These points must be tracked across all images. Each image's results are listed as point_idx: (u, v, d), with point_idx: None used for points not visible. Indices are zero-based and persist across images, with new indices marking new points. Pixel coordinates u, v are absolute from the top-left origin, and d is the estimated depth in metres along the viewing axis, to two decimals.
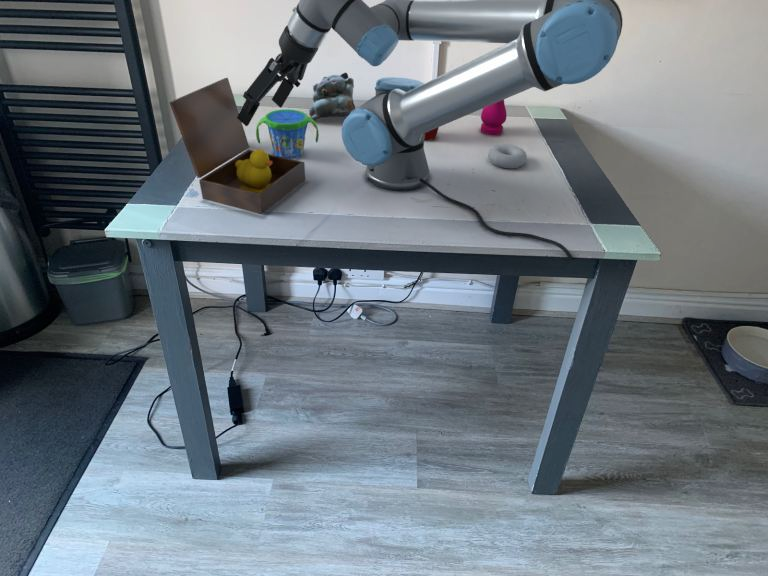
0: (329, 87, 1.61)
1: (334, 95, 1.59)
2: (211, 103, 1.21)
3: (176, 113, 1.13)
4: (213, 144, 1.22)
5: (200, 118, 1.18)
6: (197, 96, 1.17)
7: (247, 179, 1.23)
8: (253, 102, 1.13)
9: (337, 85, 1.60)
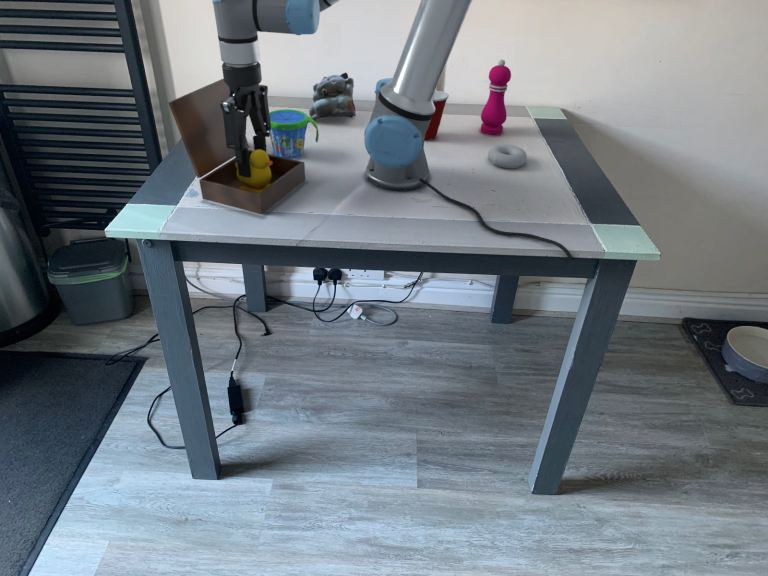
0: (329, 87, 1.61)
1: (334, 95, 1.59)
2: (210, 103, 1.21)
3: (175, 113, 1.13)
4: (212, 145, 1.22)
5: (199, 118, 1.18)
6: (196, 96, 1.17)
7: (247, 179, 1.23)
8: (236, 147, 1.15)
9: (337, 85, 1.60)
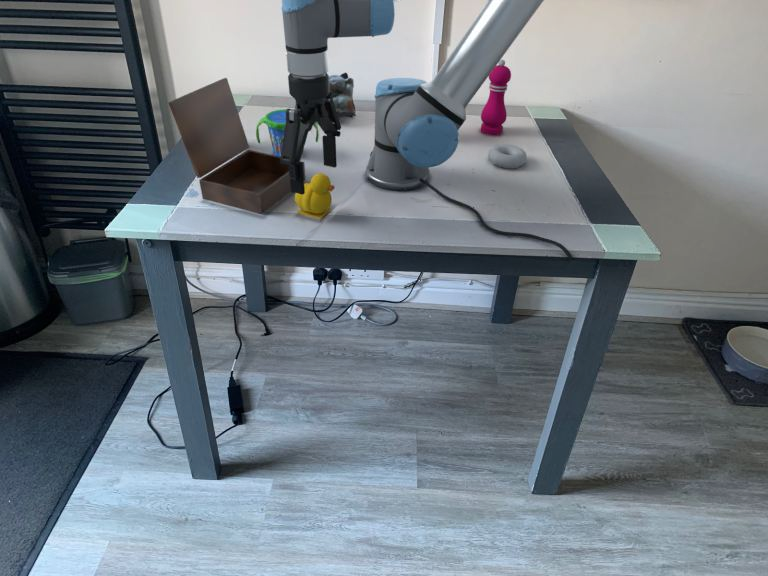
0: (329, 87, 1.61)
1: (334, 95, 1.59)
2: (210, 103, 1.21)
3: (175, 113, 1.13)
4: (212, 145, 1.22)
5: (199, 118, 1.18)
6: (196, 96, 1.17)
7: (307, 204, 1.16)
8: (292, 161, 1.03)
9: (337, 85, 1.60)
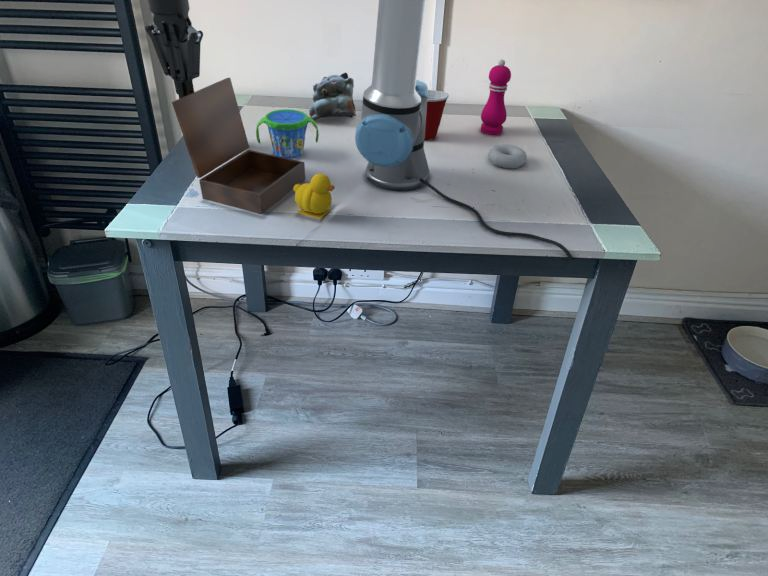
0: (329, 87, 1.61)
1: (334, 95, 1.59)
2: (213, 103, 1.21)
3: (178, 113, 1.12)
4: (213, 145, 1.22)
5: (202, 118, 1.18)
6: (199, 96, 1.17)
7: (307, 204, 1.16)
8: (164, 72, 1.18)
9: (337, 85, 1.60)
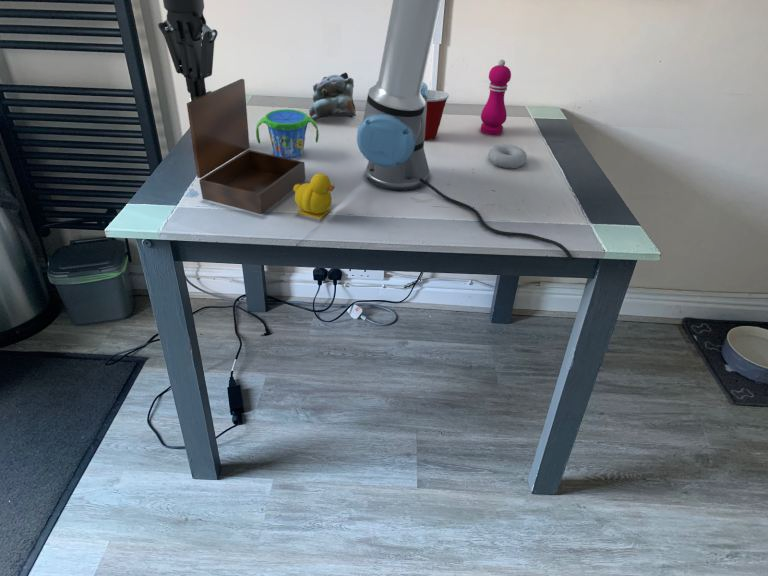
0: (329, 87, 1.61)
1: (334, 95, 1.59)
2: (224, 105, 1.20)
3: (191, 115, 1.11)
4: (218, 146, 1.22)
5: (212, 120, 1.17)
6: (213, 98, 1.16)
7: (307, 204, 1.16)
8: (176, 70, 1.16)
9: (337, 85, 1.60)
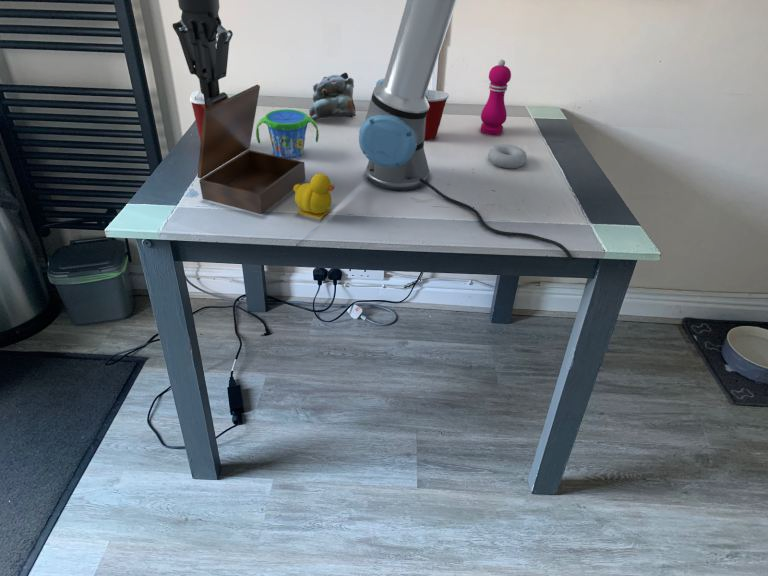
0: (329, 87, 1.61)
1: (334, 95, 1.59)
2: (237, 110, 1.19)
3: (206, 122, 1.11)
4: (222, 148, 1.22)
5: (223, 125, 1.17)
6: (229, 105, 1.15)
7: (307, 204, 1.16)
8: (190, 71, 1.15)
9: (337, 85, 1.60)
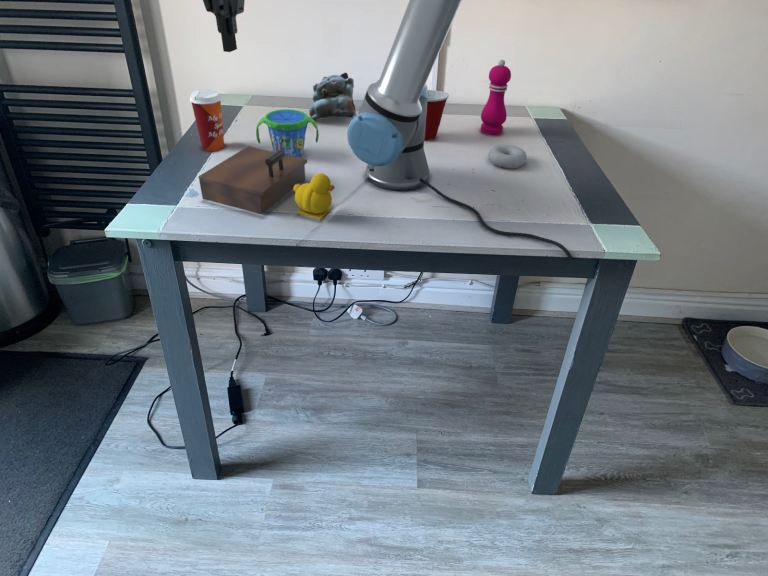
0: (329, 87, 1.61)
1: (334, 95, 1.59)
2: None
3: (253, 193, 1.16)
4: None
5: None
6: None
7: (307, 204, 1.16)
8: (206, 8, 1.12)
9: (337, 85, 1.60)
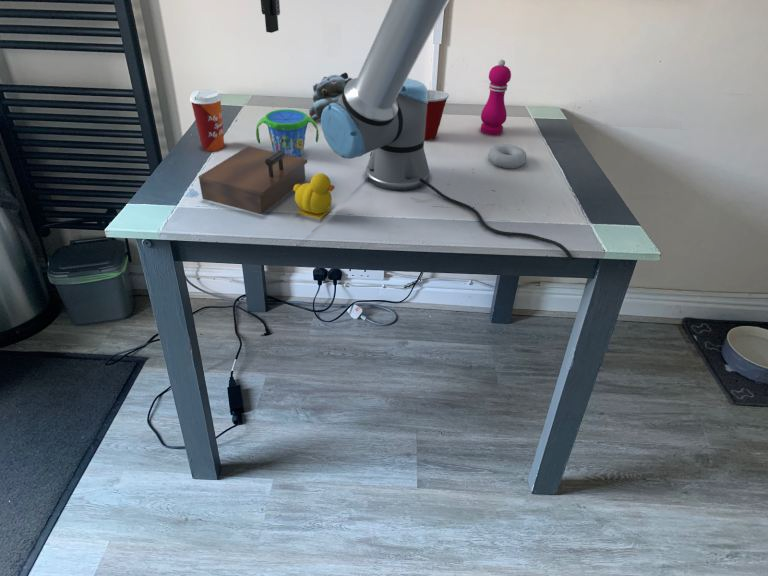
0: (329, 87, 1.61)
1: (334, 95, 1.59)
2: None
3: (253, 193, 1.16)
4: None
5: None
6: None
7: (307, 204, 1.16)
8: None
9: (337, 85, 1.60)
